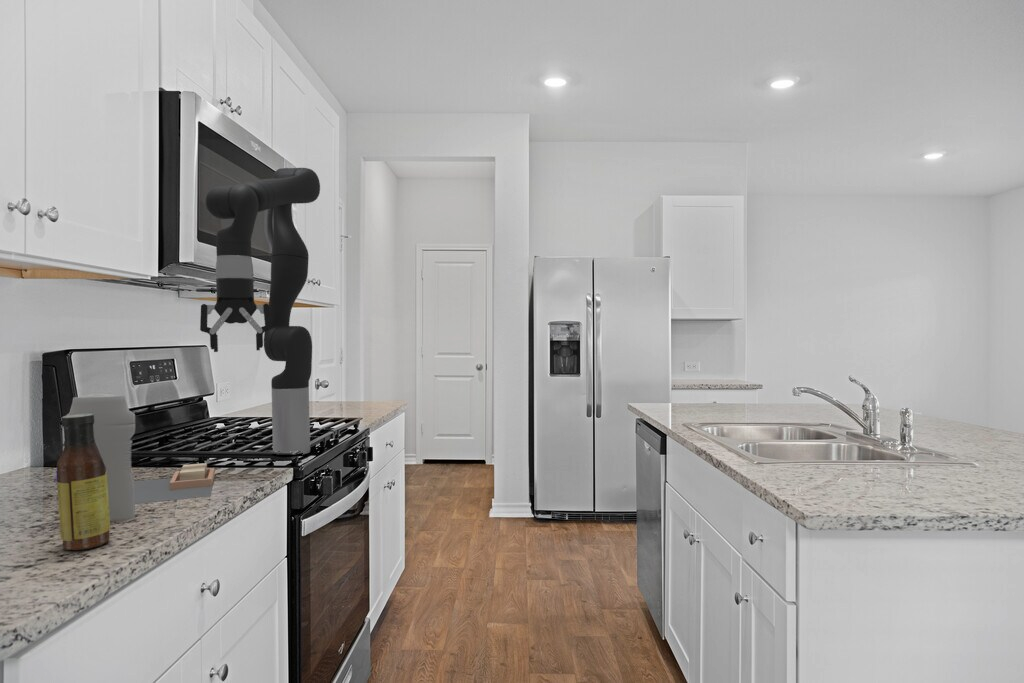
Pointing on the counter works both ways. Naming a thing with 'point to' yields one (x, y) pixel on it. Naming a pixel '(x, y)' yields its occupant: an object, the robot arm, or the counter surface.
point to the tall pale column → (112, 447)
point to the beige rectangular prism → (193, 472)
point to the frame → (192, 481)
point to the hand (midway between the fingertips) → (237, 351)
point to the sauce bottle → (82, 487)
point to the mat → (166, 491)
